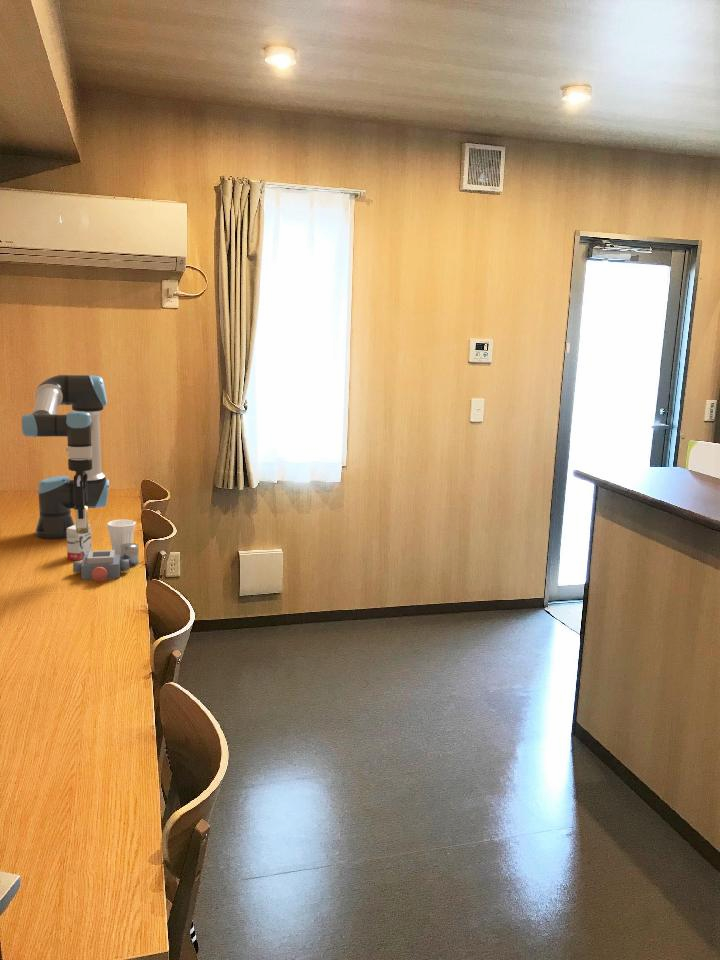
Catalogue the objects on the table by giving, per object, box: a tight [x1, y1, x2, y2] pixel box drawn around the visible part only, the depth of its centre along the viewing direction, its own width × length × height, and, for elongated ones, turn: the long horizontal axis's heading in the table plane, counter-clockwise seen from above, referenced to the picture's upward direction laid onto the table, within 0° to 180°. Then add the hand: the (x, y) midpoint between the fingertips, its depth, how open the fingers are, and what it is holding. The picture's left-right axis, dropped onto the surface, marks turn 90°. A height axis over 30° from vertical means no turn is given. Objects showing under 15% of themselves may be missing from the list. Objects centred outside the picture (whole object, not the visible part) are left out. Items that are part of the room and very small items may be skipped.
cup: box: [106, 519, 136, 554], centre depth 262 cm, size 10×10×13 cm
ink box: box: [66, 523, 93, 561], centre depth 260 cm, size 9×5×12 cm, turn 168°
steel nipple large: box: [121, 542, 140, 568], centre depth 255 cm, size 6×6×7 cm
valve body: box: [72, 549, 130, 582], centre depth 242 cm, size 16×18×7 cm
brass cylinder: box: [74, 505, 89, 534], centre depth 240 cm, size 4×4×9 cm
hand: (82, 525), depth 241 cm, fingers closed on brass cylinder, 4 cm apart
